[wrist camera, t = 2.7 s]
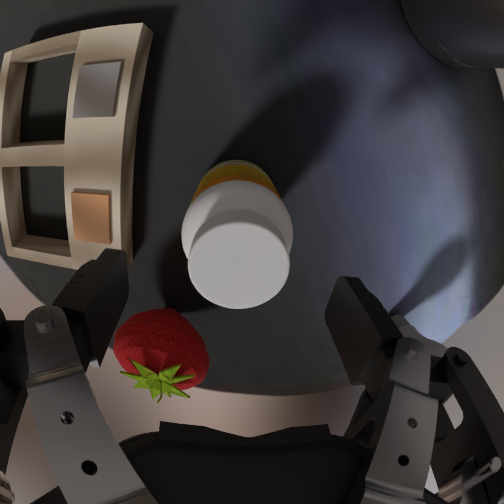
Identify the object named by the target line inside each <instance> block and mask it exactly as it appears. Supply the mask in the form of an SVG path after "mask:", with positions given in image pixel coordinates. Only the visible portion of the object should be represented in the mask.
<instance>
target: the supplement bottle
mask: <svg viewBox="0 0 504 504" xmlns="http://www.w3.org/2000/svg"><path fill="white" fill-rule="evenodd" d="M292 240H293V227H292V222H291V219H290V216H289V213H288V211H287V209H286V207H285V205H284V203H283V201H282V199H281V198H280V196H279V194H278V192H277V190H276V189H275V187H274V185H273V183H272V181H271V180H270V178H269V177H268V175H267V174H266V173H265V172H264V171H263V170H262V169H261V168H259V167H258V166H256V165H255V164H253V163H250V162H247V161H243V160H230V161H225V162H222V163H220V164H217V165H216V166H214V167H213V168H211V169H210V170H209V171H208V172H207V173H206V174H205V175H204V177H203V178H202V180H201V182H200V183H199V185H198V188H197V190H196V193H195V195H194V197H193V199H192V201H191V204H190V206H189V208H188V210H187V213H186V215H185V218H184V221H183V225H182V245H183V249H184V252H185V255H186V257H187V259H188V271H189V276H190V279H191V281H192V283H193V285H194V286H195V288H196V289H197V291H198V292H199V293H200V294H201V295H202V296H203V297H205V298H206V299H207V300H209V301H211V302H212V303H214V304H217V305H219V306H223V307H227V308H234V309H243V308H250V307H254V306H257V305H260V304H262V303H264V302H266V301H268V300H269V299H271V298H272V297H273V296H275V295H276V294H277V293H278V292H279V291H280V290H281V288H282V287H283V285H284V284H285V282H286V280H287V277H288V274H289V268H290V258H289V252H290V250H291V246H292Z"/></svg>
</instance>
